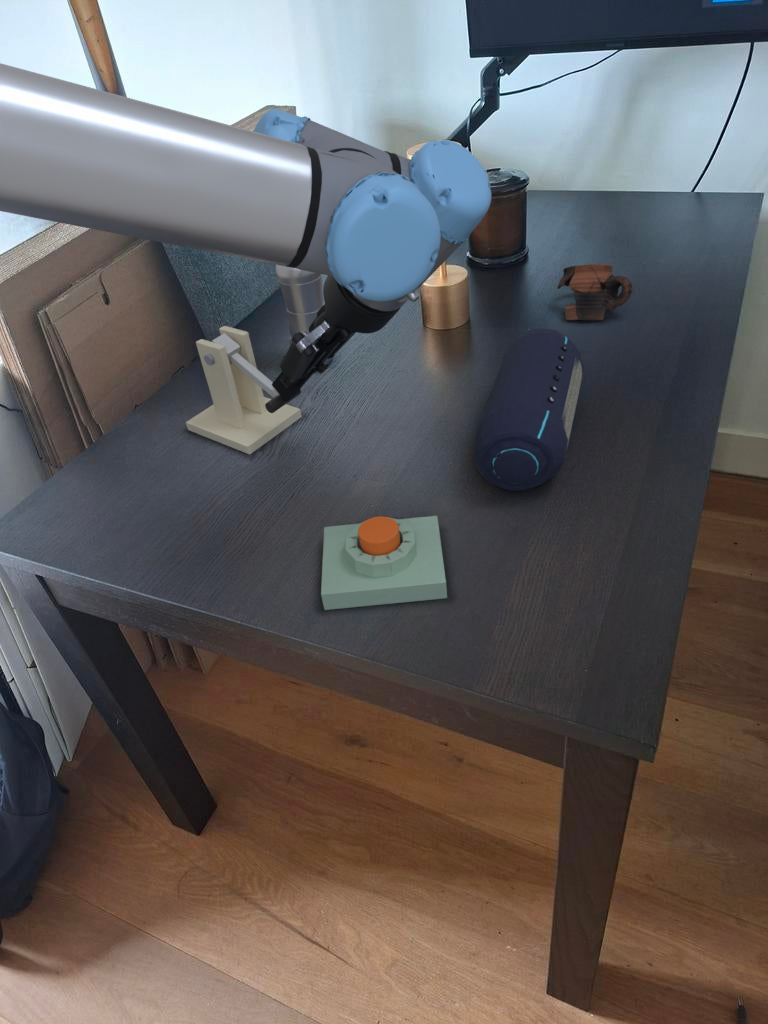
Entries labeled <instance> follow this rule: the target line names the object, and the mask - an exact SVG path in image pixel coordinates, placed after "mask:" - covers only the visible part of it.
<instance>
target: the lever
mask: <svg viewBox="0 0 768 1024" xmlns="http://www.w3.org/2000/svg"><path fill="white" fill-rule="evenodd" d="M211 342H213V343H217V344H220V345H223V346H225V348H226V352H227V355H228V359H229V363H230V364H232V363H233V364H234V365H235V366H236V367H237V368H239V369H240V370H241V371H242V372H243V373H245V374H246V375H247V376H248V377H249V378H250V379H252V380H253V381H254V382H255V383H256V384H258V385H259V386H260V387H261V388H262V390H263V391H265V393H267V394H268V395H269V396H270V397H272V398H270V399H271V400H270V401H269V402H267V403H266V404H265V407H266V409H267V411H268V412H270V413H274V412H275V411H277V410H278V409H280V408H281V407H282V406H284V405H285V404H287V405H288V403H289V402H291V401H292V400H294V399H295V398H297V397H299V396H300V395H301V393H302V390H301V389H300V390H299V391H298V392H297V393H296V394H295V395H294V396H293V397H292V398H291V399H289V400H288V401H286V402H285V400H284V399H283V398H282V397H281V396H280V394H279V393H278V392H277V391H276V389H275V388H274V387H273V386H272V383H273V382H274V381H272V380H271V379H270V378H268V377H267V376H266V375H265V374H263V372H261V371H260V370H259V369H258V368H257V369H256V368H255V367H254V366H253V365H251V364H250V363H249V362H248V361H247V360H245V359H244V358H243V357H242V356H241V355H239V352H240V345H238V344H237V343H236V342H235V341H234V340H232V339H231V338H230V337H229V336H228V335H226V334H225V333H224V334H222V335H221V334H220V335H219V336H217V337H216V338H214V339H212V340H211Z"/></svg>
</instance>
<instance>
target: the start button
mask: <svg viewBox="0 0 768 1024" xmlns="http://www.w3.org/2000/svg"><path fill="white" fill-rule="evenodd" d="M389 517H390V516H373V517H370V518H368V519H365V520H364V521H362V522H363V523H362V522H361V523H362V524H361V525H360V527H359V529H358V535H359V541H360V546H361V549H362V550H363V551H364V552H365V553H367V554H369V555H373V556H379V555H387V554H389V553H391V552H393V551H395V550H396V549H397V548H398V546H399V544H400V534H399V527H398V524H397V522H396V521H395V520H393V519H391V518H392V517H390V518H389Z"/></svg>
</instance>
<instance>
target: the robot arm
mask: <svg viewBox="0 0 768 1024" xmlns="http://www.w3.org/2000/svg"><path fill="white" fill-rule="evenodd" d="M491 203H492V190H491V181H490V179H489V176H488V174H487V172H486V170H485V168H484V167H483V165H482V164H481V162H480V160H478V158H477V157H476V156H475V155H474V154H473V153H472V152H471V151H469V150H468V149H467V148H466V147H465V146H462V145H461V144H459V143H458V142H455V141H452V140H450V139H449V140H448V139H442V140H429V141H427V142H426V143H425V144H422V147H420V148H419V149H418V150H416V151H415V152H414V153H413V154H412V156H410V158H407V157H405V156H402V155H400V154H398V153H396V152H389V151H387V150H382V149H380V148H378V147H375V146H373V145H370V144H368V143H365V142H364V141H362V140H359V139H357V138H354V137H352V136H349V135H347V134H345V133H343V132H340V131H338V130H335V129H333V128H330V127H328V126H327V125H326V126H325V125H323V124H321V123H318V122H317V121H313V120H312V119H311V117H308V116H306V115H305V116H299V115H297V114H294V113H290V112H288V111H286V110H282V109H280V108H279V109H278V108H272V109H269V110H267V111H266V112H264V113H263V114H262V115H261V116H260V118H259V119H258V121H257V122H256V124H255V126H254V129H253V131H252V130H250V129H245V128H241V127H238V126H234V125H231V124H227V123H224V122H219V121H216V120H212V119H209V118H204V117H201V116H198V115H194V114H189V113H186V112H182V111H179V110H175V109H170V108H168V107H164V106H160V105H158V104H157V105H156V104H153V103H149V102H146V101H142V100H138V99H134V98H131V97H126V96H124V95H121V94H120V95H119V94H116V93H113V92H109V91H105V90H101V89H98V88H94V87H90V86H86V85H83V84H80V83H79V84H78V83H76V82H72V81H68V80H64V79H60V78H56V77H53V76H49V75H45V74H42V73H39V72H35V71H32V70H27V69H24V68H20V67H15V66H12V65H8V64H5V63H2V62H0V212H3V213H7V214H13V215H17V216H23V217H28V218H34V219H38V220H44V221H49V222H55V223H60V224H65V225H70V226H74V227H75V226H76V227H80V228H85V229H90V230H95V231H96V230H97V231H102V232H105V233H111V234H116V235H121V236H127V237H132V238H138V239H142V240H148V241H152V242H157V243H162V244H167V245H172V246H173V245H174V246H179V247H184V248H189V249H194V250H198V251H204V252H210V253H214V254H220V255H225V256H228V257H229V256H230V257H235V258H239V259H245V260H251V261H256V262H261V263H266V264H270V265H275V266H276V265H281V266H286V267H291V268H296V269H299V270H304V271H309V272H314V273H318V274H322V275H323V276H324V275H325V276H326V277H325V279H324V283H323V285H322V291H323V300H324V305H323V306H322V307H321V308H320V310H319V311H318V312H317V317H316V319H315V320H314V321H313V323H312V324H311V325H310V327H309V332H310V333H309V334H307V333H306V332H305V331H303V332H302V333H301V332H299V333H296V334H294V335H293V338H292V339H291V340H292V344H291V346H290V345H289V348H288V349H287V351H286V353H285V355H283V358H282V361H280V364H279V366H278V368H279V369H280V370H281V372H280V373H279V374H278V376H276V378H275V379H274V381H272V382H273V383H272V386H273V387H274V388H275V389H276V391H277V392H278V393H279V394H280V396H281V397H282V398H283V399H284V400H285V402H286V401H288V400H289V399H291V398H292V397H293V396H294V395H295V394H296V393H297V392H298V391H299V390H301V389H302V388H303V386H305V384H306V383H307V382H308V381H309V380H310V379H311V377H312V376H313V375H314V373H316V370H317V372H318V374H320V375H321V374H324V372H325V371H326V370H327V369H328V367H327V365H325V364H324V362H325V361H326V359H327V358H328V359H330V358H332V359H333V358H334V357H335V356H336V354H337V353H338V352H339V351H340V350H341V348H343V347H344V346H345V345H346V344H347V343H348V342H349V341H350V340H351V339H352V338H353V337H354V336H355V334H356V333H359V334H374V333H376V332H379V331H381V330H382V329H383V328H385V326H386V325H388V323H389V322H390V321H391V320H392V319H393V318H394V317H395V315H396V314H397V313H398V312H399V311H400V309H402V307H403V306H404V305H405V303H407V301H410V302H412V303H414V302H416V301H418V300H419V298H420V294H419V292H417V290H419V288H421V287H422V285H423V284H425V283H426V281H428V279H429V278H430V277H431V276H432V275H433V274H434V273H435V272H436V271H438V269H439V268H440V267H441V266H442V265H443V264H444V263H445V262H446V261H447V260H448V259H449V258H450V256H451V255H453V254H454V252H455V251H456V250H457V249H458V248H459V247H460V246H461V245H463V244H464V243H466V241H468V239H469V237H470V235H471V234H472V233H473V231H474V230H475V229H476V228H477V227H478V225H480V223H481V222H482V220H483V218H484V217H485V215H486V214H487V212H488V211H489V209H490V206H491ZM314 367H315V368H314Z"/></svg>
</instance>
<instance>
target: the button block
mask: <svg viewBox="0 0 768 1024" xmlns="http://www.w3.org/2000/svg"><path fill="white" fill-rule="evenodd" d="M388 517H389V518H391V519H393V520H395V521H396V522H397V524H398V527H399V534H400V544H399V546H398V548H397V549H396V550H395V551H393V552H391V553H389V554H387V555H379V556H373V555H369V554H367V553H365V552H364V551H363V550H362V549H361V546H360V541H359V535H358V529H359V527H360V525H361V524H362V523H363V522H364V521H362V522H359V523H350V524H342V525H341V524H340V525H332V526H331V525H330V526H324V528H323V543H322V544H323V545H322V564H321V565H322V567H321V587H320V596H321V601H322V606H323V609H324V611H329V610H331V611H332V610H338V609H350V608H359V607H360V608H361V607H371V606H381V605H391V604H392V605H393V604H401V603H411V602H412V603H413V602H422V601H433V600H442V599H448V589H447V588H448V587H447V579H446V572H445V571H446V570H445V564H444V557H443V556H444V555H443V548H442V540H441V533H440V527H439V518H438V515H428V516H420V517H409V518H399V519H398V518H393V517H390V516H388Z"/></svg>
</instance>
